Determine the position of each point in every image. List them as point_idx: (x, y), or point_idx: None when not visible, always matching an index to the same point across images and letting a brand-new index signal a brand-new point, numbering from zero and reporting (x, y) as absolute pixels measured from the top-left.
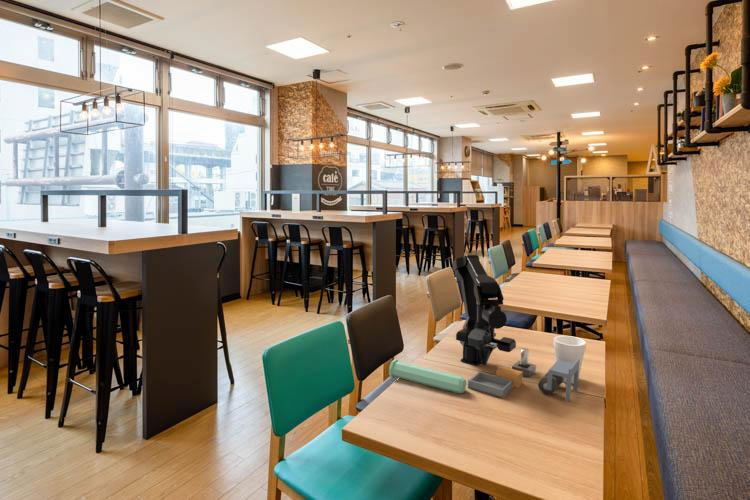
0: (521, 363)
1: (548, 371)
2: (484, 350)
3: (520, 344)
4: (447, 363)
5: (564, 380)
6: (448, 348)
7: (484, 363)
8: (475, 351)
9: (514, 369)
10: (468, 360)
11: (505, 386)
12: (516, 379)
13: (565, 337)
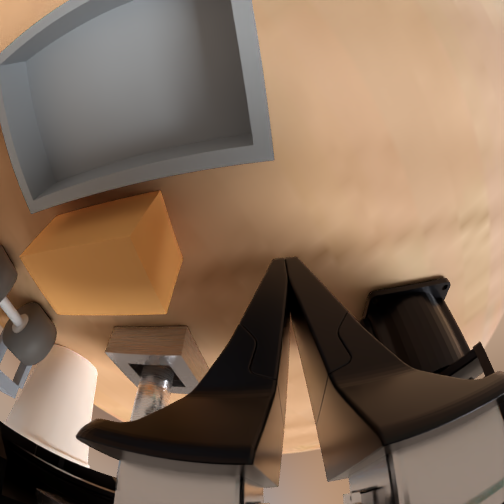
0: (155, 380)
1: (33, 353)
2: (267, 398)
3: (297, 431)
4: (490, 219)
5: (53, 348)
6: (483, 325)
7: (275, 265)
8: (405, 358)
9: (170, 343)
10: (418, 297)
11: (1, 110)
12: (36, 239)
13: None
